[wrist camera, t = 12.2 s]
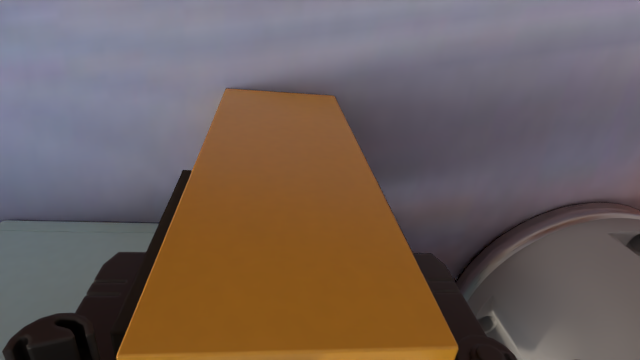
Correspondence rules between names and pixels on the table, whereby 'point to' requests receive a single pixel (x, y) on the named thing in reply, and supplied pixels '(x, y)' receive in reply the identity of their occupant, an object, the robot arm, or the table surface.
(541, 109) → the table surface
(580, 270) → the robot arm
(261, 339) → the orange rectangular block
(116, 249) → the cabinet
